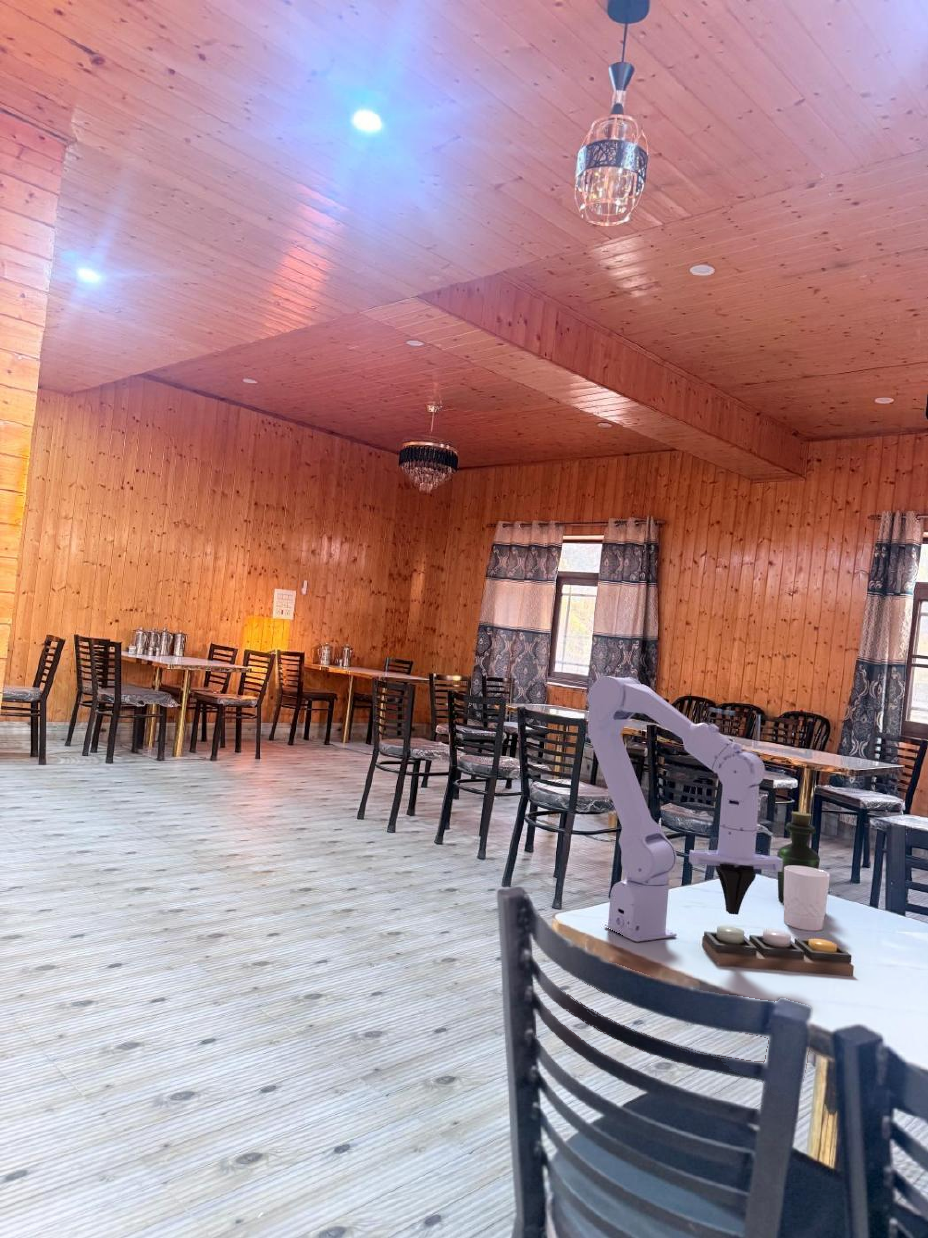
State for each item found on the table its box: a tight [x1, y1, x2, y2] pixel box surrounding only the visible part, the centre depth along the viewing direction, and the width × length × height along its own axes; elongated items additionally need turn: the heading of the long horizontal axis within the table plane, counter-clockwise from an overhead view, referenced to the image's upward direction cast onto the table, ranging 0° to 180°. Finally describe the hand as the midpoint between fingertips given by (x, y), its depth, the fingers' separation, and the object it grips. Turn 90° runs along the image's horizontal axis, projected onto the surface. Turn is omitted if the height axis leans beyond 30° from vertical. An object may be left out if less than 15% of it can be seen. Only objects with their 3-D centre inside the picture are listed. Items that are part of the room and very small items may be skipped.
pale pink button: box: [762, 928, 792, 947], centre depth 138 cm, size 4×4×1 cm
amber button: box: [808, 938, 838, 953], centre depth 138 cm, size 4×4×1 cm
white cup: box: [783, 865, 831, 932], centre depth 159 cm, size 8×8×10 cm
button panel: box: [701, 931, 854, 977], centre depth 138 cm, size 21×9×3 cm, turn 91°
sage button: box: [716, 925, 745, 943], centre depth 138 cm, size 4×4×1 cm
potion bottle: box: [776, 811, 821, 904], centre depth 175 cm, size 8×8×18 cm
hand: (732, 912), depth 138 cm, fingers closed
